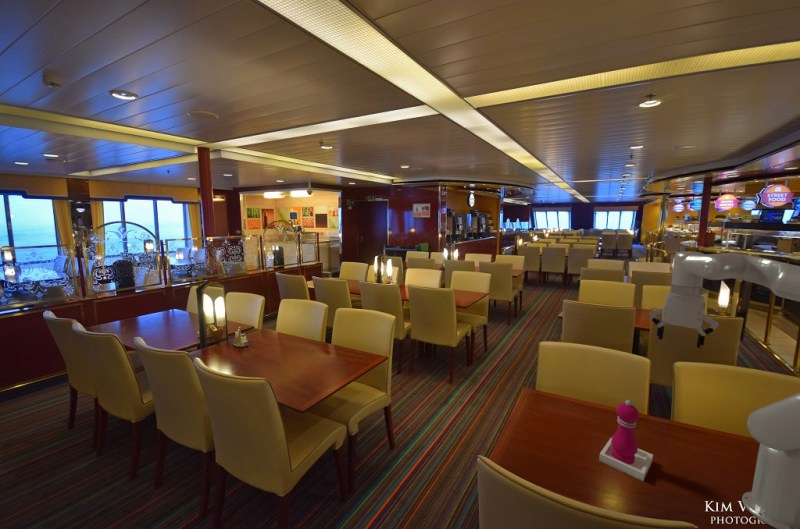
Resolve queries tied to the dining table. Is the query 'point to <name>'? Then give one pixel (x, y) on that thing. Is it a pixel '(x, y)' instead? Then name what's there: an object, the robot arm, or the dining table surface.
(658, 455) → the dining table surface
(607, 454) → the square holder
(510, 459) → the dining table surface
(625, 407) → the pepper mill
